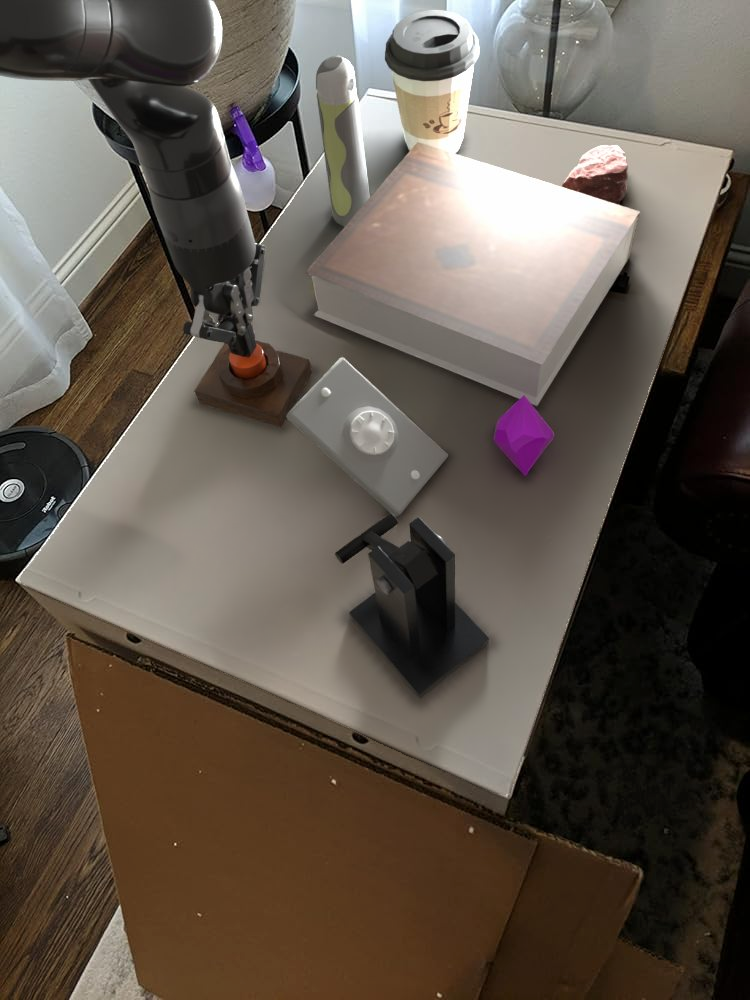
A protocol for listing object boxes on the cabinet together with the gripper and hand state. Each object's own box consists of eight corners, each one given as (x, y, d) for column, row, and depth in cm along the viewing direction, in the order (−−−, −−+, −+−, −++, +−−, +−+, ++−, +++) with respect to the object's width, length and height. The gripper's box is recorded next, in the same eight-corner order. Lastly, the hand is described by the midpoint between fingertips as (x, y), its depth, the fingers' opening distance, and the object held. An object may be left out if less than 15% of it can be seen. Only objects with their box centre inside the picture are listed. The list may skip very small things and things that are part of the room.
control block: (281, 427, 90) (275, 404, 87) (198, 404, 93) (189, 380, 89) (312, 371, 94) (307, 347, 91) (232, 350, 96) (224, 325, 93)
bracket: (349, 617, 78) (329, 539, 66) (417, 566, 80) (410, 482, 68) (419, 699, 74) (412, 633, 61) (489, 643, 76) (496, 568, 63)
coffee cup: (414, 183, 109) (409, 71, 96) (376, 134, 115) (367, 23, 102) (493, 153, 111) (498, 39, 98) (452, 106, 116) (452, -6, 104)
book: (419, 187, 108) (417, 142, 103) (629, 257, 99) (639, 211, 94) (313, 315, 98) (305, 272, 93) (536, 405, 89) (542, 364, 84)
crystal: (486, 446, 87) (487, 419, 83) (525, 418, 88) (528, 390, 84) (521, 479, 85) (525, 452, 81) (561, 449, 86) (566, 421, 82)
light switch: (402, 513, 82) (289, 410, 80) (382, 525, 87) (276, 429, 86) (453, 452, 85) (345, 351, 84) (431, 467, 90) (329, 373, 89)
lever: (342, 567, 73) (329, 545, 72) (396, 527, 75) (385, 505, 74) (397, 605, 65) (383, 580, 64) (457, 559, 66) (445, 534, 65)
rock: (622, 190, 109) (559, 177, 110) (637, 141, 104) (572, 128, 105) (618, 230, 102) (551, 216, 102) (635, 179, 97) (565, 165, 98)
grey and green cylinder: (357, 234, 105) (339, 81, 88) (325, 221, 106) (300, 68, 89) (379, 210, 107) (365, 56, 90) (347, 197, 108) (327, 44, 91)
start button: (257, 382, 89) (253, 371, 87) (226, 374, 90) (222, 363, 88) (271, 357, 91) (268, 346, 89) (241, 349, 92) (238, 338, 90)
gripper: (205, 278, 69) (249, 408, 84) (274, 174, 75) (304, 313, 90) (126, 259, 71) (183, 389, 86) (200, 159, 77) (241, 297, 92)
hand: (245, 350), depth 88 cm, fingers closed
